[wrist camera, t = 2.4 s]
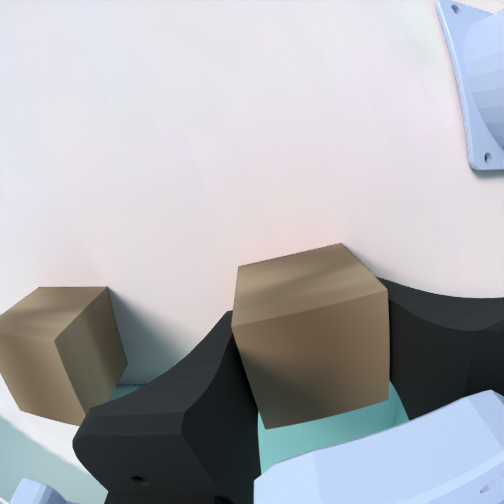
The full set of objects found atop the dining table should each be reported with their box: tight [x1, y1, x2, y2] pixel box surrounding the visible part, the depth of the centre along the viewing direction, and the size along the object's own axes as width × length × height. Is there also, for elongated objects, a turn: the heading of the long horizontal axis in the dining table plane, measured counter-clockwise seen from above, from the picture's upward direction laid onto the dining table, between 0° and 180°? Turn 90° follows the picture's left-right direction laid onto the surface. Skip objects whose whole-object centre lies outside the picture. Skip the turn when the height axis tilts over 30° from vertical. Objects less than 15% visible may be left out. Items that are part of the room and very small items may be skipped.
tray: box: [107, 380, 409, 474], centre depth 14 cm, size 16×11×2 cm
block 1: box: [0, 287, 127, 426], centre depth 11 cm, size 4×4×4 cm
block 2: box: [231, 243, 390, 430], centre depth 10 cm, size 4×4×4 cm
